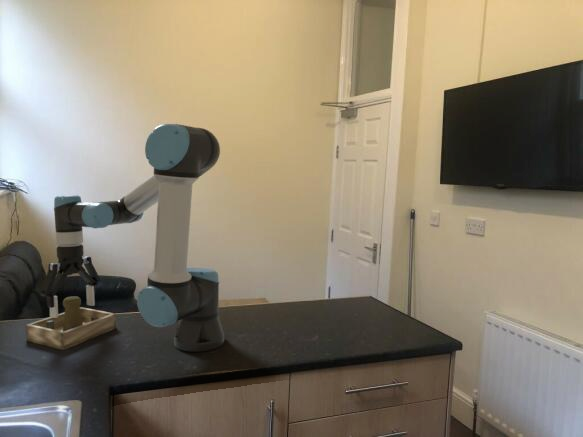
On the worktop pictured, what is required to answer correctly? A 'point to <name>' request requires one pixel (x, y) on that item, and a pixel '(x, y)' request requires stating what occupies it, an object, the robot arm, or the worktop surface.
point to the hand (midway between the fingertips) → (73, 310)
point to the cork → (72, 312)
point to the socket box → (70, 329)
